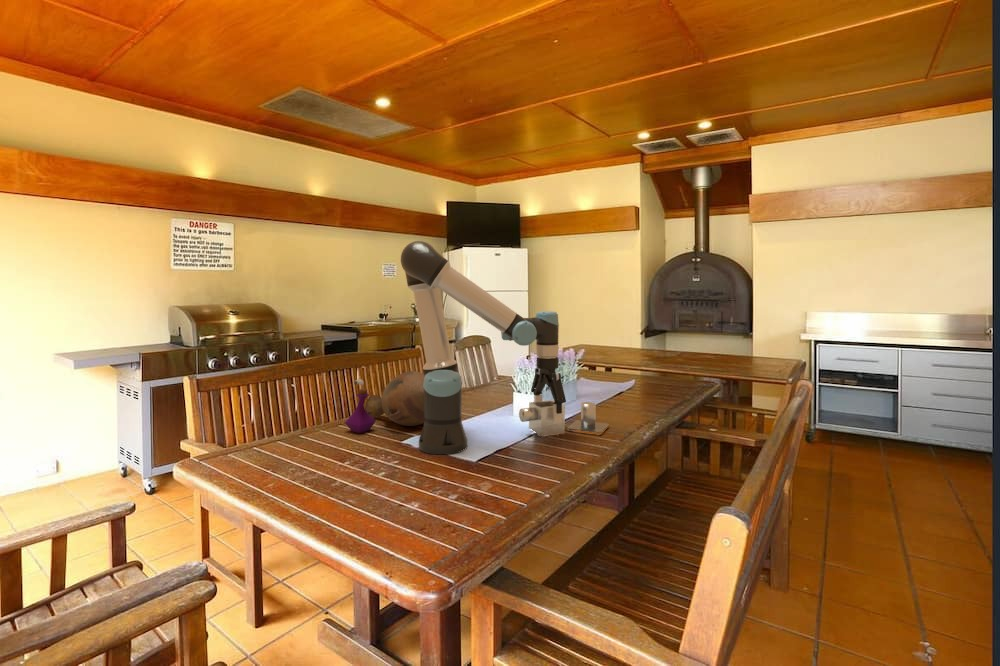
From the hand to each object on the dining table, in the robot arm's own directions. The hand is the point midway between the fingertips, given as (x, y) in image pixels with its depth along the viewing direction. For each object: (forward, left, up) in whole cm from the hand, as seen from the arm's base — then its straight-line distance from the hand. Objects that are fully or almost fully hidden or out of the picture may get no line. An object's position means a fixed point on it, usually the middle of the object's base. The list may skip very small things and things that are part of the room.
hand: (547, 417), depth 177 cm
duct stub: (+12, +10, -5) cm, 16 cm away
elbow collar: (-2, -2, -5) cm, 6 cm away
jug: (-53, -11, -5) cm, 55 cm away
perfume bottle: (-59, -26, -5) cm, 65 cm away
